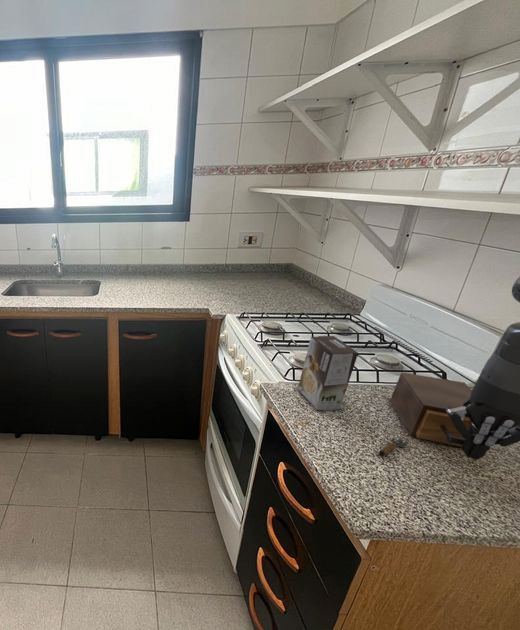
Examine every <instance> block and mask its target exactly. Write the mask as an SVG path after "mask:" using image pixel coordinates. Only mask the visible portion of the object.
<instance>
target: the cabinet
mask: <svg viewBox="0 0 520 630" xmlns="http://www.w3.org/2000/svg"><path fill="white" fill-rule="evenodd" d="M471 392H472V388H470V386H469V385H468V384H467V383H466V382H463V381H457V380H451V379H446V378H439V377H432V376H426V375H420V374H414V373H409V372H400V374H399V377H398V380H397V382H396V385H395V387H394V389H393V392H392V395H391V397H390V398H389V401H390V403H391V405H392V406H393V408H394V410H395V412H396V413H397V415H398V417H399V419H400V421H401V422H402V425H403V426H404V428H405V429H406V431H407V433H408V435H409V436H410V437H412V438H418V437H417V436H416V432H417V429H418V427H419V425H420V423H421V421H422V419H423V416H424V414H425V412H426V410H427V409H432V410H437V411H442V412H446V411H445V407H448V406H450V407H452V408H453V409H454V408H458V407H462V406H463V403H464V402H466V401H467V400H469V399H470V396H471ZM465 416H468V415H467V414H465Z"/></svg>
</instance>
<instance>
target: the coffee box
mask: <svg viewBox="0 0 520 630" xmlns="http://www.w3.org/2000/svg"><path fill="white" fill-rule="evenodd" d="M358 355H359V351H357V350H356V349H354V348H352V347H350V346H349V345H348V344H346V343H345V342H343V341H342V340H341V339H339V338H337V337H336V336H334V335H319V336H310V338H309V342H308V347H307V350H306V354H305V358H304V363H303V367H302V369H301V375H300V379H299V382H298V385H297V391H299V392H300V393H301V394H302V395H303V397H304V398H305V399H306V400H307V401H308V402H309V403H310V404H311V406H313V407H314V408H315V409H316V410H317V411H322V410H323V411H324V410H325V411H326V410H329V411H330V410H340V409H341V408H342V405H343V401H344V399H345V395H346V393H347V389H348V387H349V383H350V380H351V377H352V374H353V370H354V368H355V365H356V361H357V358H358Z"/></svg>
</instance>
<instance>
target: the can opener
mask: <svg viewBox="0 0 520 630" xmlns="http://www.w3.org/2000/svg"><path fill="white" fill-rule="evenodd" d="M395 440H396V438H391V443H390V444H388V445H387V446H385V447H383V448H381V450H379V452H378V454H379V455H380V456H382V457H385V456H386V455H388V454H390V453H391V452H392V451H393V450H395V449H396V448H397V447H399V448H406V447H407V446H408V441H407V440H406V441H404V439H403V438H402V437H400V438H399V439H398V440H396V441H395Z"/></svg>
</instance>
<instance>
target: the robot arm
mask: <svg viewBox="0 0 520 630" xmlns="http://www.w3.org/2000/svg"><path fill="white" fill-rule="evenodd" d="M511 295H512V297H513V299H514V300H515V301H516V302H517V303H519V304H520V276H519V277H517V278H516V280H515V281H514V283H513V284H512V286H511ZM471 390H472V392H471V396H470V399H469V400H467V401H466V402H464V403H463V406H462V407H458V408H454V409H453V408H452V407H450V406H448V407H445V411H446V413H447V414H448V416H449V418H450V419H451V421H452V423H453V424H454V426H455V427H456V429H457V430H458V432H459V433H460V434H461V435H462V437H463V438H465V441H464V443H463V445H462V446H461V447H460V448H461V450H462V452H463V453H464V455H465V456H466V458H467V459H471V460H472V459H473V460H477V461H479V460H480V458H481V459H483V457H485V455H486V454H487V452H488V451H489V450H488V448H489V447H490V448H491V447H493V446H494V445H499V446H501V447H507V446H510V445H513V444H515V443H519V442H520V321H518V322H517V321H516V322H514V323H511V324H509V326H507V327H506V328H505V330H504V331H503V333H502V335H501V337H500V339H499V340H498V343H497V344H496V347H495V349H494V351H493V352H492V354H491V356H489V358H488V359H487V360H486V362H485V364H484V366H483V368H481V372H480V374H479V376H478V378H477V380H476V381H475V383H474V386H473V388H471ZM465 414H467V415H468V417H469V419H470V420H469V428H468V429H467V428H466V427H465V425H464V423H463V422H462V421H463V420H464V418H465ZM487 450H488V451H487Z"/></svg>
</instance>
